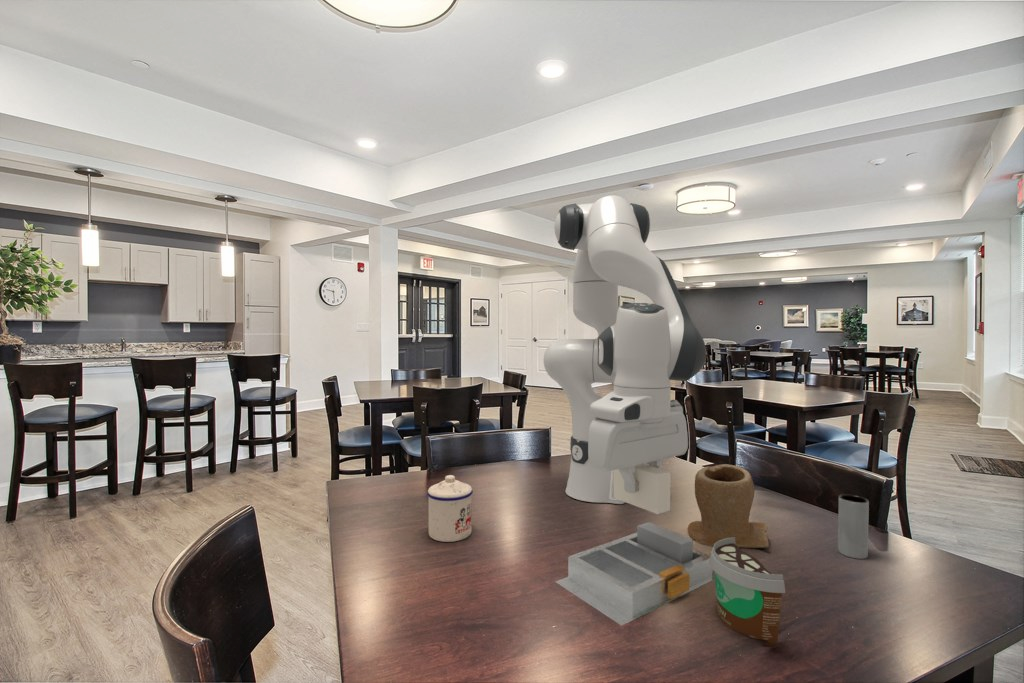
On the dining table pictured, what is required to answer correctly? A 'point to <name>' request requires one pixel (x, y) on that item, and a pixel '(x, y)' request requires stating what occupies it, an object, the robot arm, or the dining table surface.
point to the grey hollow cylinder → (853, 526)
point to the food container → (746, 592)
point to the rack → (632, 578)
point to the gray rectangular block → (665, 542)
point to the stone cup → (726, 508)
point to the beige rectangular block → (646, 489)
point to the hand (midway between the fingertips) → (640, 489)
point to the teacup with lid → (449, 510)
